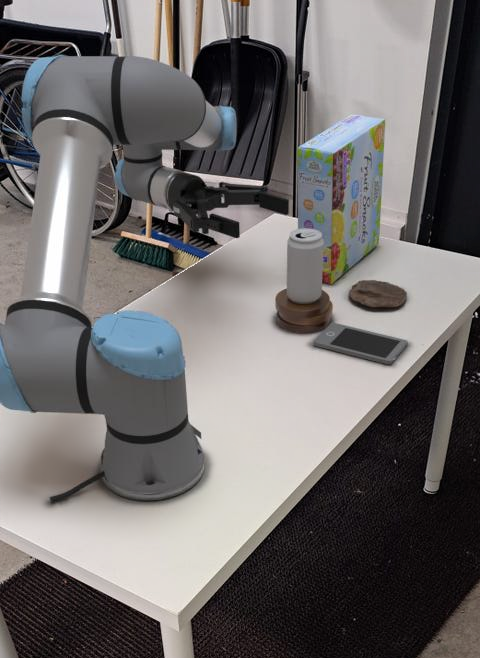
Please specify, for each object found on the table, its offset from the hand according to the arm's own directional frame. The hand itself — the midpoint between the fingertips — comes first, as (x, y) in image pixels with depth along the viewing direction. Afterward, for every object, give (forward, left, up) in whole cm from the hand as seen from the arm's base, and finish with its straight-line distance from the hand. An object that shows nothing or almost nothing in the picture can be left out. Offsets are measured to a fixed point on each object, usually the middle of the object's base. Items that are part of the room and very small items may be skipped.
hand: (263, 218), depth 153 cm
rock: (+16, -15, -17) cm, 28 cm away
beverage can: (0, -10, -13) cm, 16 cm away
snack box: (+25, +1, -17) cm, 30 cm away
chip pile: (0, -10, -17) cm, 19 cm away
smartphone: (-1, -23, -17) cm, 29 cm away
